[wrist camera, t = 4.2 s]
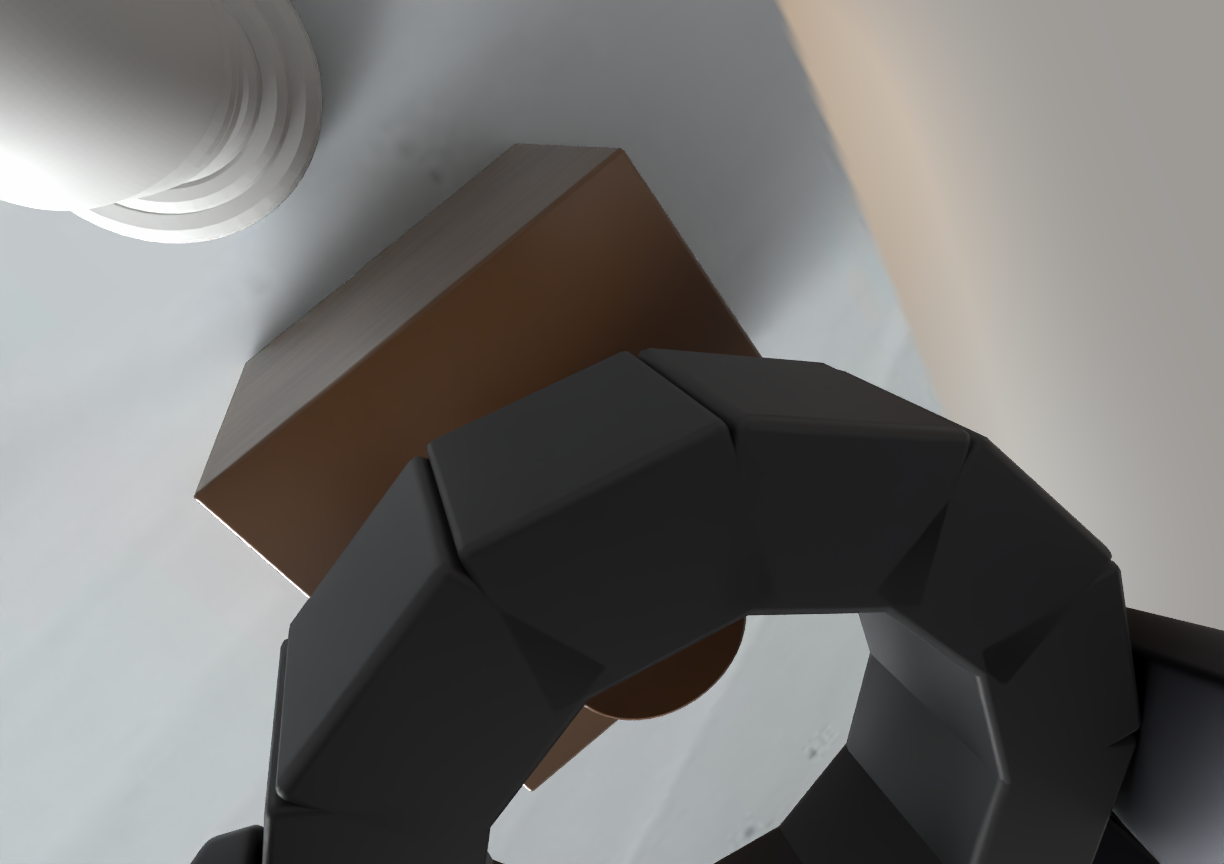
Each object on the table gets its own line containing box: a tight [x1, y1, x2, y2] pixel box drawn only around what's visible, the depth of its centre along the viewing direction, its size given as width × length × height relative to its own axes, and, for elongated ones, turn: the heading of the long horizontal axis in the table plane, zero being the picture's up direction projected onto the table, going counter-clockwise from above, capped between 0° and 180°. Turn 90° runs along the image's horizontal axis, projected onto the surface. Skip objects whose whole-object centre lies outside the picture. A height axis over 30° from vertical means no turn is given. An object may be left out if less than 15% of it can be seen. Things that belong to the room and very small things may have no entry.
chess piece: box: [0, 0, 323, 243], centre depth 11 cm, size 5×5×9 cm
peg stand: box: [194, 144, 762, 791], centre depth 14 cm, size 7×7×10 cm
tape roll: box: [262, 348, 1141, 864], centre depth 7 cm, size 7×7×2 cm
